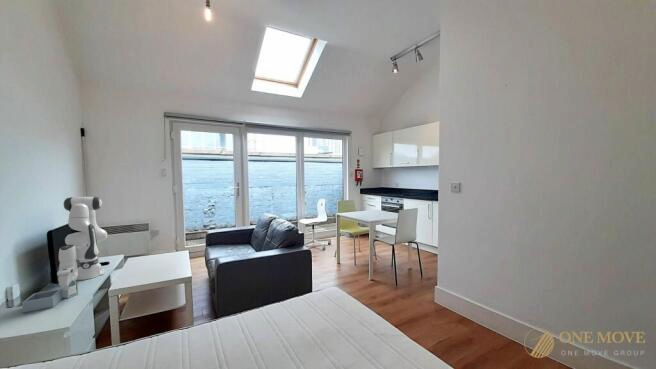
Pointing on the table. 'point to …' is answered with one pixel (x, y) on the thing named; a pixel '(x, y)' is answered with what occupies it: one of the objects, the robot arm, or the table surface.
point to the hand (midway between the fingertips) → (69, 287)
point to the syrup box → (71, 288)
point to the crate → (42, 300)
